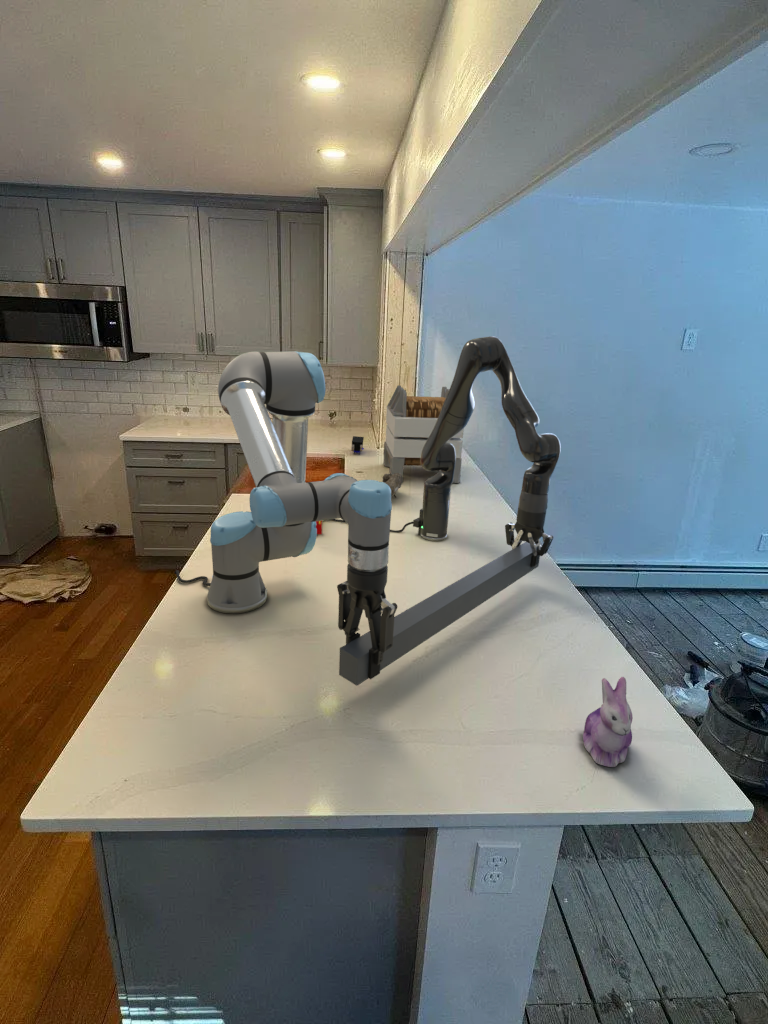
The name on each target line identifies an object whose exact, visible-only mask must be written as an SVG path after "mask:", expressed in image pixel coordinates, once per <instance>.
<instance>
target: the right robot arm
mask: <svg viewBox="0 0 768 1024" xmlns="http://www.w3.org/2000/svg"><path fill="white" fill-rule="evenodd" d="M502 341H503V340H501V339H500V338H499V337H497V336H492V335H491V336H482V337H476V338H471V339H469V340H468V341H466V343H465V344H464V345H463V347H462V348H461V352H460V355H459V358H458V362H457V365H456V369H455V373H454V376H453V379H452V382H451V384H450V387H449V389H450V390H449V392H448V395H447V397H446V399H445V401H444V403H443V406H442V408H441V411H440V414H439V417H438V419H437V422H436V424H435V426H434V428H433V430H432V432H431V434H430V436H429V438H428V439H427V441H426V443H425V445H424V447H423V449H422V452H421V458H420V460H421V465H422V466H421V467H422V469H423V470H424V471H427V472H436V473H435V474H434V475H432V476H430V477H428V478H427V479H425V480H424V482H423V493H422V496H423V497H422V506H421V508H420V509H419V516H418V517H417V518H414V519H413V521H409V522H407V523H405V524H404V525H403V527H401V529H399V530H393V529H390V533H402V532H404V531H405V529H406V527H408V526H410V525H412V527H413V528H418V530H417V535H418V536H420V538H421V539H424V540H426V541H432V542H440V541H444V540H446V539H447V538H448V525H449V517H450V516H449V514H450V504H451V494H452V493H451V491H452V485H453V484H454V483H453V476H454V469H455V462H456V452H455V448H454V446H453V445H452V444H451V443H446V442H447V441H448V440H450V439H451V438H452V437H454V436H455V435H456V434H458V433H459V432H460V431H461V430H462V429H463V428H464V429H465V427H467V426H468V423H469V422H470V419H471V417H472V415H473V413H474V410H475V406H476V405H475V404H476V402H475V397H474V393H473V391H472V390H473V386H474V383H475V380H476V378H477V377H478V376H479V374H480V373H485V372H490V371H492V373H494V375H495V376H496V377H497V378H498V381H499V384H500V391H501V393H500V394H501V395H500V399H501V408H502V410H503V413H504V415H505V417H506V419H507V420H508V422H509V423H510V425H511V427H512V428H513V430H514V433H515V436H516V441H517V444H518V447H519V451H520V453H521V455H522V456H523V457H524V458H525V459H526V460H527V461H528V462H529V463H533V464H532V465H531V466H530V467H529V468H527V469H526V470H525V471H524V473H523V476H522V484H521V491H520V494H519V497H518V498H519V499H518V505H517V512H516V518H515V519H516V522H515V523H513V522H511V521H510V522H508V523H506V524H505V525H504V531H505V539H506V541H505V542H506V545H507V546H510V547H511V548H512V549H514V548H516V547H518V546H519V545H521V544H522V543H523V542H528V543H530V547H531V548H532V553H533V555H532V557H531V564H530V567H532V568H533V567H535V566H536V565H537V564H538V560H539V561H540V559H539V556H540V557H543V556H544V555H546V554H547V553H548V551H549V549H550V547H551V545H552V542H553V540H554V536H553V535H552V534H547V533H545V529H544V526H545V524H546V523H545V522H546V516H547V509H548V503H549V491H550V485H551V478H552V476H553V473H554V471H555V469H556V467H557V464H558V461H559V460H560V459H559V458H560V456H561V449H562V447H561V446H562V445H561V441H560V439H559V437H558V436H557V435H556V434H554V433H551V432H547V433H546V432H545V433H538V431H537V429H536V428H537V427H538V426H539V425H540V417H539V415H538V413H537V412H536V410H535V408H534V407H533V404H532V403H531V402H530V400H529V398H527V395H526V394H525V392H524V390H523V388H522V385H521V383H520V380H519V379H518V376H517V373H516V371H515V368H514V365H513V363H512V361H511V357H510V356H509V353H508V351H507V349H506V346H505V345H504V343H503V342H502ZM330 521H331V522H339V523H340V522H341V523H345V524H347V523H346V522H345V521H344V520H342V519H340V518H338V519H331V520H329V522H330ZM515 532H516V537H515ZM540 539H542V542H543V543H542V545H541V541H540ZM540 546H541V550H540ZM512 549H511V550H512Z"/></svg>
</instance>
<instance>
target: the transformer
mask: <svg viewBox="0 0 768 1024" xmlns="http://www.w3.org/2000/svg"><path fill="white" fill-rule="evenodd" d="M449 390H450V388H447V386H442V387H441V392H440V393H441V394H440V396H415V395H414V396H413V395H412V396H411V395H407V394H408V393H407V390H406V389H404V388H403V387H402V385H399V384H398V385H397V386H396V388H395V390H394V392H393V394H392V395H391V398H390V400H389V402H388V404H387V405H386V413H385V414H386V415H385V423H386V428H385V438H384V442H383V466H384V467H388V468H389V474H390V473H391V474H392V475H393V474H394V473H399V474H401V475H402V476H403V475H404V469H405V466H406V467H407V466H411V467H412V466H413V467H415V466H416V467H417V466H418V467H422V465H421V460H420V458H421V452H422V449H423V447H424V445H425V443H426V441H427V439H428V438H429V436H430V434H431V432H432V430H433V428H434V426H435V424H436V422H437V419H438V417H439V414H440V411H441V408H442V406H443V403H444V401H445V399H446V397H447V395H448V392H449ZM464 429H465V427H464V428H463V429H462V430H461V431H460V432H459V433H458V434H456V435H455V436H454V437H452V438H451V439H450V440H448V441H447V442H446V443H451V444H452V445H453V446H454V448H455V452H456V462H455V469H454V476H453V483H452V484H455V483H456V484H459V483H461V472H462V461H463V460H462V453H463V442H464V441H463V440H462V439H463V438H464V431H465V430H464Z"/></svg>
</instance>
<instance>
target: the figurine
mask: <svg viewBox="0 0 768 1024" xmlns="http://www.w3.org/2000/svg"><path fill="white" fill-rule="evenodd" d="M601 693H602V695H601V696H602V704H601V706H600V707H597V709H595V710H594V711H592V712H590V713H589V714H588V715H587V717H586V719H585V722H584V727H583V728H584V729H583V734H582V739H583V746H584V748H585V750H586V751H587V752H588V754H589V755H590V756H591V758H592V760H593V761H594V763H595V764H598V765H600V766H604V767H608V768H615V767H617V766H618V764H621V763H625V761H626V759H627V754H628V751H629V747H630V746H631V744H632V742H633V731H632V722H633V712H632V709H631V707H630V704H629V702H628V700H627V679H626V678H625V677H624V676H621V677H619V679H618V680H617V682H616V686H615V688H613V687H612V685H611V683H610V682H609V680H607V678H605V677H603V678H602V679H601Z"/></svg>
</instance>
